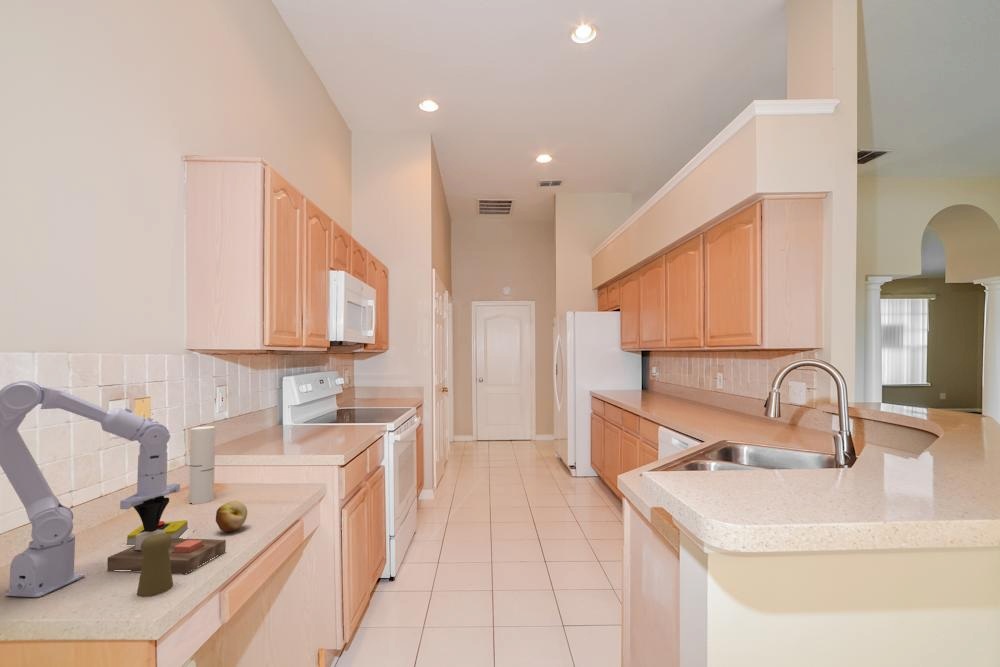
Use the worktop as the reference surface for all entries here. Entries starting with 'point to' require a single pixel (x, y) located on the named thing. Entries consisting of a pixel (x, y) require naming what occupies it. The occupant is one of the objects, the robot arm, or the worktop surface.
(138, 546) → the off-white plunger
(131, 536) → the emergency button
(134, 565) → the walnut plunger housing
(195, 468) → the cylindrical container
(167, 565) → the olive tall tapered piece
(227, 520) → the fruit
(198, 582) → the worktop surface
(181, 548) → the salmon red square block
